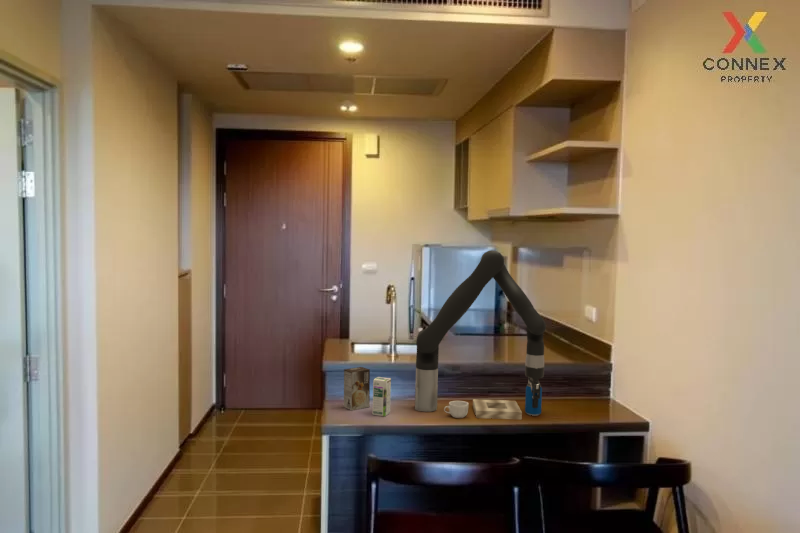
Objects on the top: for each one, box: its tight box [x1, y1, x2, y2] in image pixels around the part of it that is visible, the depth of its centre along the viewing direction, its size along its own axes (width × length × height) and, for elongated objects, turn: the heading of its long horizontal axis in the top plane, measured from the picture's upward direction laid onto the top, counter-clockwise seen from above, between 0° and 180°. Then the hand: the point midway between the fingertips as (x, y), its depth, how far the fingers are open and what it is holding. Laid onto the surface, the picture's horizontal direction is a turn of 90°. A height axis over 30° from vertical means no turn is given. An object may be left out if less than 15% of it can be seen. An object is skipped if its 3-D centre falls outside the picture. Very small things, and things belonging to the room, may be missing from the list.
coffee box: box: [343, 366, 371, 411], centre depth 242 cm, size 9×6×16 cm
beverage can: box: [524, 383, 543, 417], centre depth 238 cm, size 6×6×12 cm
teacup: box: [443, 400, 469, 419], centre depth 232 cm, size 10×8×5 cm
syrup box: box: [371, 376, 392, 417], centre depth 233 cm, size 6×6×14 cm
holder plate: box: [472, 398, 523, 420], centre depth 239 cm, size 18×16×3 cm
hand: (533, 405), depth 238 cm, fingers closed on beverage can, 6 cm apart
